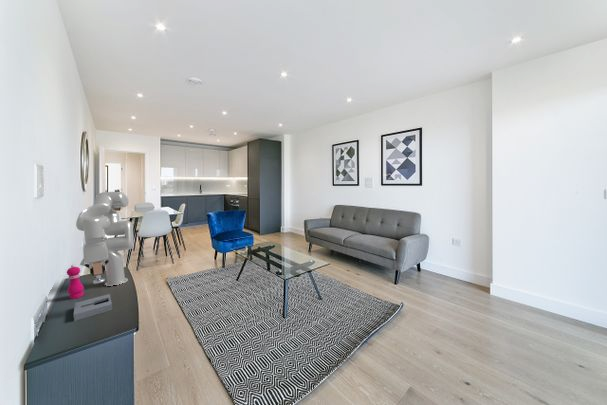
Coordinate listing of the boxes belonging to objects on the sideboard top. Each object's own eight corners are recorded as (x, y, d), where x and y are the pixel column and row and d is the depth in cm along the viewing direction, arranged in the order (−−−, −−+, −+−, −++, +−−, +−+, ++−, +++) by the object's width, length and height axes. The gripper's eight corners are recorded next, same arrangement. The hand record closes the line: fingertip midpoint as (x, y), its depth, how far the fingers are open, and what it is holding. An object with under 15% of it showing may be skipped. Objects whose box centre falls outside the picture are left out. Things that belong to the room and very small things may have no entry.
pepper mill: (66, 300, 145) (62, 267, 143) (71, 295, 151) (67, 264, 149) (82, 297, 148) (78, 265, 146) (86, 292, 154) (82, 261, 153)
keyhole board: (75, 308, 135) (74, 302, 134) (110, 299, 144) (109, 293, 144) (74, 321, 122) (73, 314, 122) (112, 309, 132) (111, 304, 131)
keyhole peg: (93, 282, 134) (91, 262, 133) (104, 279, 137) (102, 260, 137) (93, 284, 131) (91, 264, 130) (105, 282, 134) (102, 262, 133)
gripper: (113, 237, 140) (116, 268, 142) (73, 242, 130) (77, 276, 131) (114, 239, 135) (117, 271, 136) (73, 245, 124) (77, 280, 125)
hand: (98, 273), depth 134 cm, fingers closed on keyhole peg, 3 cm apart
